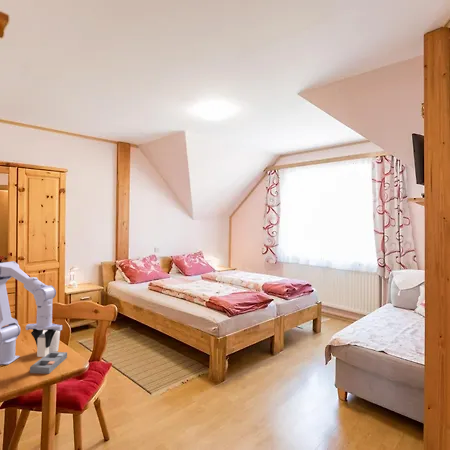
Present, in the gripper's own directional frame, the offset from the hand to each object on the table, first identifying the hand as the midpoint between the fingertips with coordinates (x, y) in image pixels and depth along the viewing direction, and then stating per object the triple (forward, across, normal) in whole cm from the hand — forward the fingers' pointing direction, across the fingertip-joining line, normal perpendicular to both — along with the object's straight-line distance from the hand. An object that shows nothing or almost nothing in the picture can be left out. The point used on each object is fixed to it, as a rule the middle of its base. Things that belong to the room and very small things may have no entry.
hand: (43, 346), depth 134 cm
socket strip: (+10, +1, +4) cm, 10 cm away
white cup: (+10, -6, +17) cm, 21 cm away
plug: (+4, 0, 0) cm, 4 cm away
